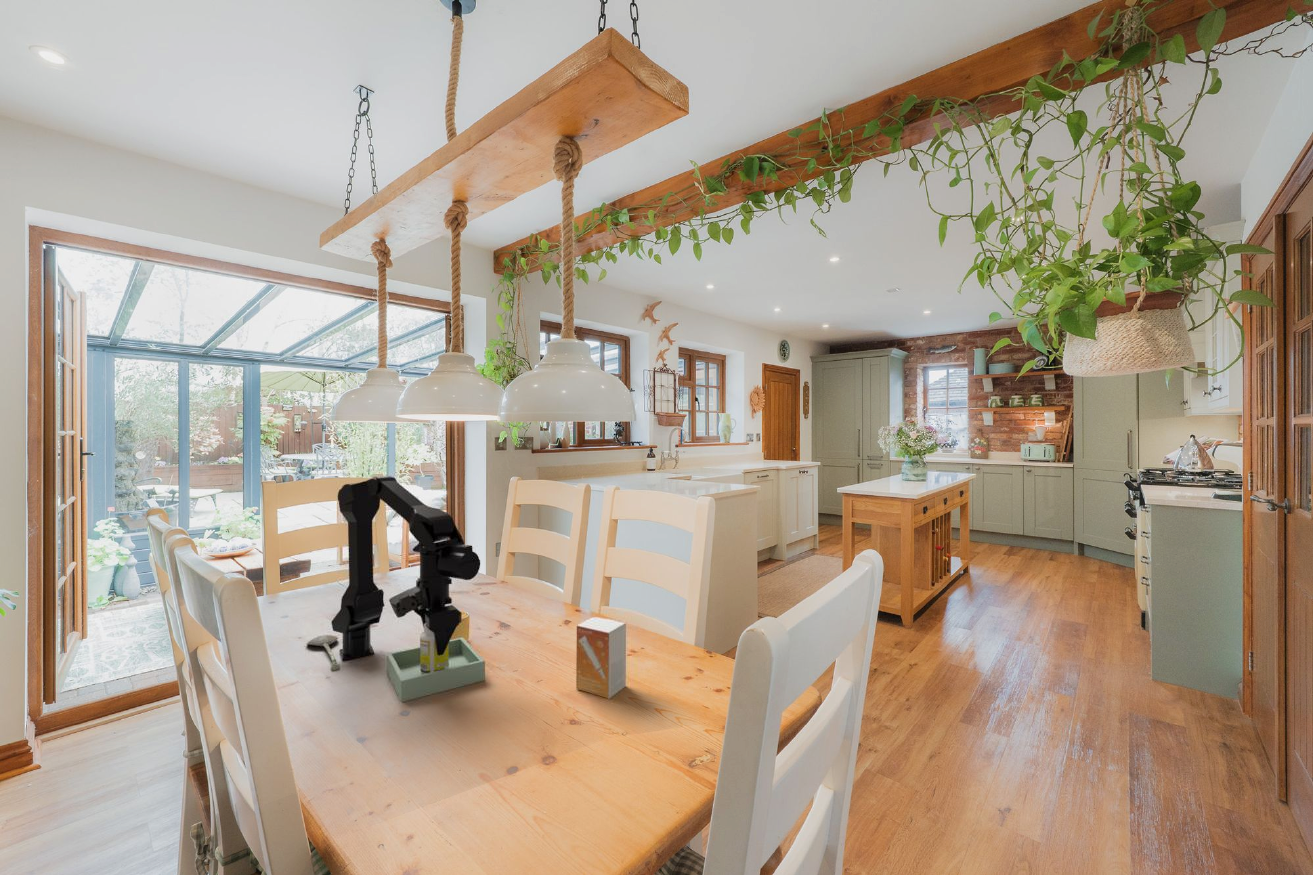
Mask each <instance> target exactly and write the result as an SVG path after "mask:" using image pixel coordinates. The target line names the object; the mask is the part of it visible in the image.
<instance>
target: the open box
mask: <svg viewBox="0 0 1313 875" xmlns="http://www.w3.org/2000/svg"><path fill="white" fill-rule="evenodd" d="M484 659H485V658H483V657H482V656H481V655H480V654H479V652H477V651H476V649H474V648H473V647H472V645H471V644H470V643H469V642H468V641H467V640H466V639H465V638H464V637H459V638H458V637H457V638H453V639H450V641H449V667H448V668H447V669H443V670H438V671H434V672H430V673H426V674H422V673H421V670H420V646H416V647H411V648H407V649H402V650H398V651H397V650H396V651H392V652H387V653H386V673H387V675H388V678H389V679H390V682H391V684H392V686H393V688H394V690H395V692H396V694H397V696H398V698H399V700H400V702H401V703H403V702H406V701H410V700H414V699H419V698H422V697H427V696H429V695H433V694H438V693H441V692H445V691H448V690H453V689H456V688H461V687H463V686H468V685H472V684H476V683H479V682H484V681H486V661H485V660H484Z"/></svg>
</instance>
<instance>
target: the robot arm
mask: <svg viewBox="0 0 1313 875" xmlns="http://www.w3.org/2000/svg"><path fill="white" fill-rule="evenodd" d="M337 501H338V506H339V512H340V513H341V515H342V516H343V518H345V520H346V521H347V535H348V536H347V537H348V539H347V540H348V544H347V545H348V546H347V547H348V582H349V583H348V585H347V588H346V590H345V591H344V593H343V595H342V596H341V602H340V610H339V611H338V612H337V613H336V615H335V616H334V617H333V619H332V620H331V621H330V622H331V628H332V631H333V632H336V633H339V634H342V648H340V649H339V651H338V652H339V656H340V659H341V660H342V661H347V660H352V659H356V658H362V657H366V656H370V655H374V654H375V651H374V649H373V646H372V644H371V626H372V625H374V624H380V621H381V616H382V614H383V609H384V607H385V600H384V594H385V593H384V590H383V588H382V589H381V588H380V589H379V587H378V586H377V584H376V583H375V581H374V580H375V579H374V543H373V542H374V540H373V538H374V536H373V535H374V534H373V520H374V518H375V516H376V514H377V513H378V511H379V510H380V506H381V505H380V504H381V501H383V503H385V504H386V505H387V506H388V508H391V510H393V511H394V512H395V513H397V514H398V515H399V516H400V517H401V518H402V519H403V520H404V521H406V522H407V524H408V531H409V532H410V534H411V535H412V536H413V537H414V539H415V540H416V541H417V542H418V543H417V544H416V545H415V546H414V547H413V548H412V551H413V552H414V553H419V577H417V580H415V581H416V582H415V583H416V584H415V586H413V587H411V588H408V589H406V590H403V591H402V592H400V593H398V594H396V595H394V596H392V597H390V598H389V599H388V601H389V603H390V606H391V607H392V611H393V613H394V614H395V616H396V617H397V618H403V617H405V616H406V615H407V614H408V613H411V612H412V611H413V612H414V613H415V614H417V616H419V617H420V619H421V623H422V627H423V629H424V624H425V623H426V627H427V628H428V629H429V630H430V631H432V632H433V634H434V640H435V645H436V651H437V655H438V656H439V655H443V654H444V652H445V650H446V647H447V645H448V643H449V641H450V640H452V639H451V638H452V637H453V635H454V633H455V631H456V628H457V627H458V626H459V625H460V623H462V612H461V611H460V610H459V609H458V608H457V607H456V606H454V605H453V604H452V602H453V601H452V600H453V599H452V597H451V596H450V585H452V584H453V583H452V582H453V580H452V579H458V580H463V581H470V580H472V579H474V578H475V577H476V576H477V574H478V573H479V571H480V569H481V568H480V567H481V560H480V556H478V554H477V553H476V552H474V551H473V545H470V544H466V545H465V541H464V539H463V536H462V534H461V533H460V532H459V529H458V527H457V525H456V523H455V522H454V518H453V517H452V515H450V513H448V512H445V511H443V510H442V509H440V508H436V507H432V506H429V505H427V504H425V503H423V502H422V501H421V500H420V499H419V498H418V497H416V496H415V495H414V494H412V493H411V492H410V491H409V490H407V489H406V488H405V487H404V486H403V485H402V484H400V482H398V481H397V478H395V477H394V476H392V475H385V476H383V475H382V476H374V477H372V478H369V479H367V480H364V481H361V482H355V483H354V482H353V483H347V484H346V483H345V484H344V485H342V487H341V488H340V489H339V490H338V493H337Z"/></svg>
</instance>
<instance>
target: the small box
mask: <svg viewBox="0 0 1313 875" xmlns="http://www.w3.org/2000/svg"><path fill="white" fill-rule="evenodd" d="M575 658H576V667H575V668H576V669H575V670H576V671H575V673H576V676H575V677H576V678H575V680H576V681H575V682H576V684H575V689H576V690H580V691H582V692H586V693H590V694H593V695H597V696H600V697H603V698H605V699H608V700H609V699H610V698H612V697H613V696H614V695H616V694H618V693H619V692H620V691H621V690H622V689H623V690H624V688H625V687H626V686H627V623H625V622H621V621H617V620H613V619H609V618H603V617H597V616H593V617H591V618H588V619H587V620H584V621H582V622H581V623H579V624H577V625H576V657H575Z"/></svg>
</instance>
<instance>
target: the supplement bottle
mask: <svg viewBox="0 0 1313 875" xmlns="http://www.w3.org/2000/svg"><path fill="white" fill-rule="evenodd" d="M419 647H420V670H421V673H422V674H426V673H430V672H434V671H438V670H443V669H447V668H448V667H449V643H448V645H447V647H446V650H445V652H444V654H443V655H439V656H438V655H437V651H436V645H435V640H434V634H433V632H432V631H430V630H429V629H428V628H427V627H426V623H425V624H424V628H423V631H422V633H421V634H420V636H419Z"/></svg>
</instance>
